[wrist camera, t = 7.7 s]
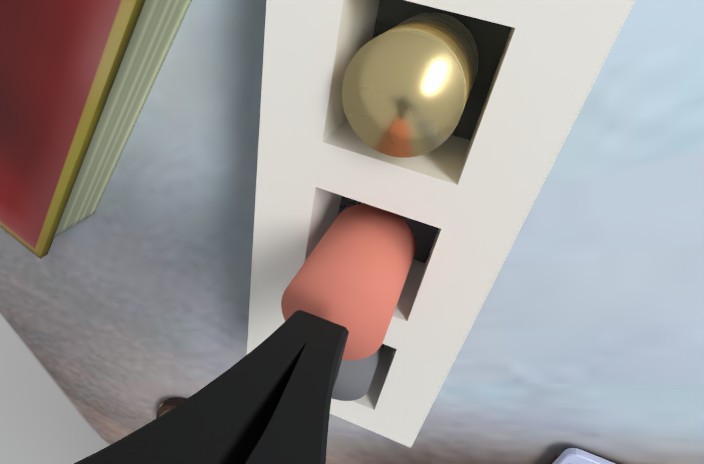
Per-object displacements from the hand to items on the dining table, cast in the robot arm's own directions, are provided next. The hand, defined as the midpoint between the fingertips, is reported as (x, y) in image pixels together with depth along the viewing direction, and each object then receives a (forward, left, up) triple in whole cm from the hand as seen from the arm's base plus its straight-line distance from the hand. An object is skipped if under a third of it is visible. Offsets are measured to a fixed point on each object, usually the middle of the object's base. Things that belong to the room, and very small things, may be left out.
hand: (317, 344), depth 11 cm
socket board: (0, 0, -7) cm, 7 cm away
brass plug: (+6, 0, -7) cm, 9 cm away
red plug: (0, 0, -5) cm, 5 cm away
